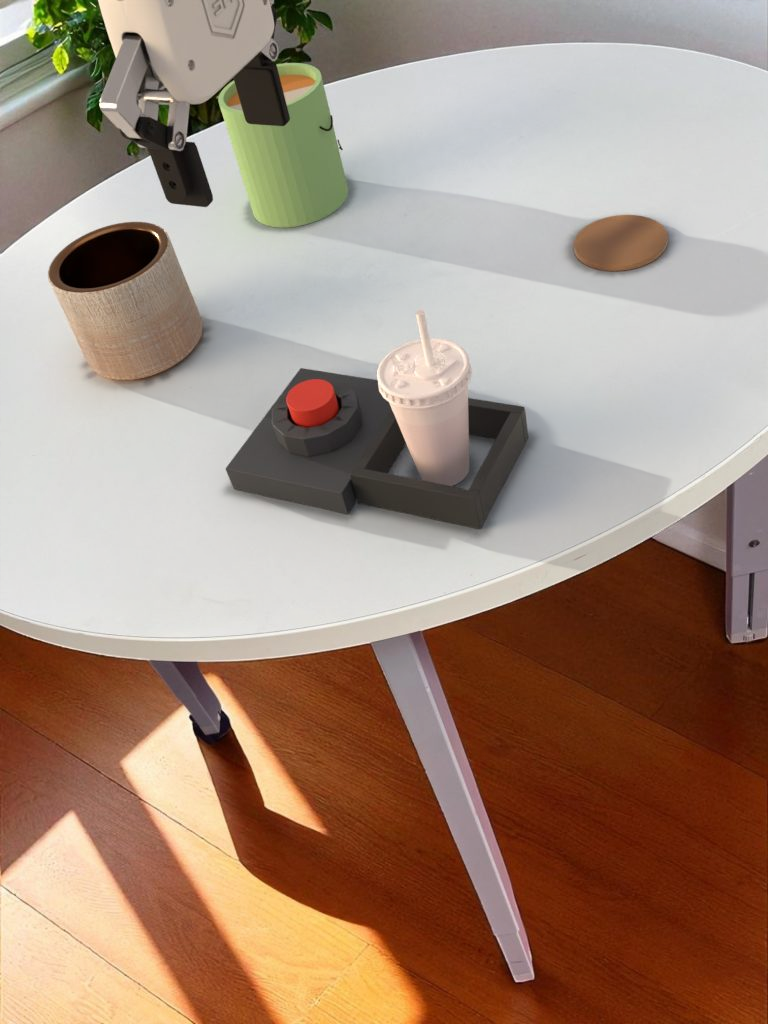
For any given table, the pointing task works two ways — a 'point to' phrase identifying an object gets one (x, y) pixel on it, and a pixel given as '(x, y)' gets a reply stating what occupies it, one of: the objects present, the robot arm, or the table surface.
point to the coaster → (620, 242)
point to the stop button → (312, 403)
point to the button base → (311, 446)
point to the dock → (439, 498)
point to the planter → (126, 300)
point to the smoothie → (430, 403)
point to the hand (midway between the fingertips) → (231, 161)
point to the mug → (289, 152)
